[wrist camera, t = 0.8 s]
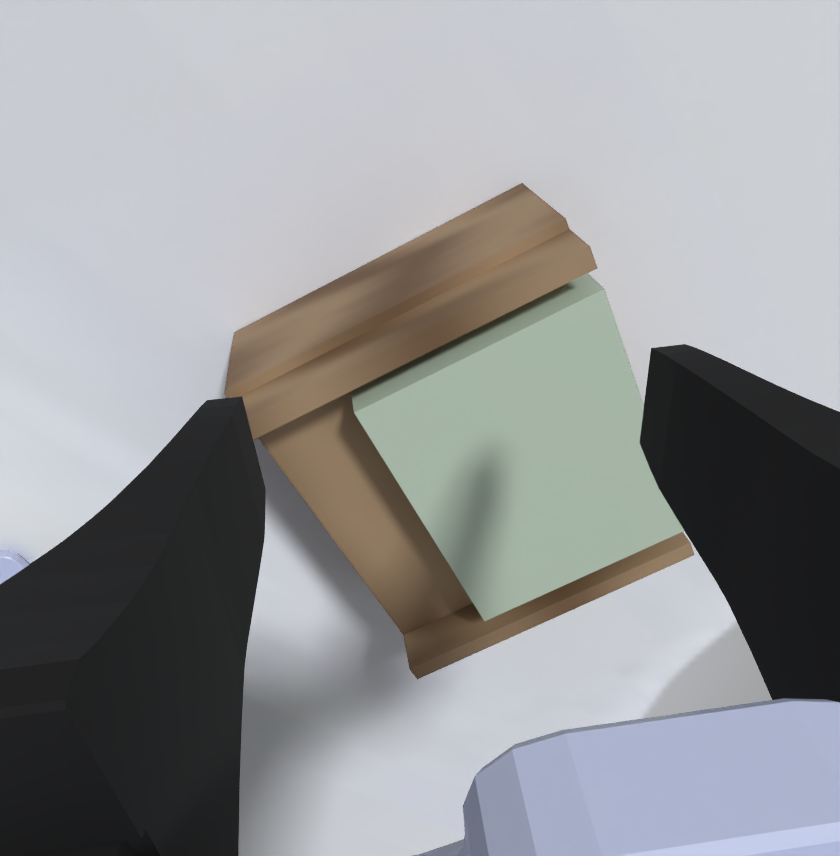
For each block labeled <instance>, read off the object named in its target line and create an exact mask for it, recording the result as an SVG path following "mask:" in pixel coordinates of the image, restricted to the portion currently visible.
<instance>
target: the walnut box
mask: <svg viewBox="0 0 840 856" xmlns="http://www.w3.org/2000/svg"><path fill="white" fill-rule="evenodd" d="M595 269H597V266H596V263H595V260H594V257H593V254H592V251H591V248H590V246H589V245H588V244H586V243H585V242H584V241H583V240H582V239H580V238H579V237H578V236H577V235H576V234H575V233H573V232H572V231H571V230H570V229H569V227H568V224H567V221H566V219H565V218H564V217H563V216H562V215H561V214H559V213H558V212H557V211H556V210H554V209H553V208H552V207H551V206H550V205H548V204H547V203H546V202H545V201H543V200H542V199H541V198H540V197H539V196H537V195H536V194H535V193H534V192H532V191H531V190H530V189H529V188H528V187H526V186H525V185H524V184H523V183H522V184H520V185H518V186H516V187H514V188H512V189H510V190H508V191H506V192H504V193H502V194H500V195H498V196H497V197H495V198H493V199H491V200H489V201H487V202H485V203H483V204H481V205H479V206H477V207H475V208H473V209H471V210H470V211H468V212H466V213H464V214H462V215H460V216H458V217H456V218H454V219H452V220H450V221H448V222H446V223H444V224H443V225H441V226H439V227H437V228H435V229H433V230H431V231H429V232H427V233H425V234H423V235H421V236H419V237H417V238H416V239H414V240H412V241H410V242H408V243H406V244H404V245H402V246H400V247H398V248H396V249H394V250H392V251H390V252H389V253H387V254H385V255H383V256H381V257H379V258H377V259H375V260H373V261H371V262H369V263H367V264H365V265H363V266H362V267H360V268H358V269H356V270H354V271H352V272H350V273H348V274H346V275H344V276H342V277H340V278H338V279H336V280H335V281H333V282H331V283H329V284H327V285H325V286H323V287H321V288H319V289H317V290H315V291H313V292H311V293H309V294H308V295H306V296H304V297H302V298H300V299H298V300H296V301H294V302H292V303H290V304H288V305H286V306H284V307H282V308H281V309H279V310H277V311H275V312H273V313H271V314H269V315H267V316H265V317H263V318H261V319H259V320H257V321H255V322H254V323H252V324H250V325H248V326H246V327H244V328H242V329H240V330H238V331H236V332H234V337H233V343H232V350H231V356H230V362H229V368H228V375H227V381H226V387H225V393H226V395H227V396H228V398H232V397H241V396H242V398H243V402H244V406H245V410H246V414H247V418H248V422H249V426H250V430H251V434H252V438H253V440H254V439H256V438H259V440H260V441H261V442H262V444H263V445H264V446H265V448H266V449H267V450H268V452H269V453H270V454H271V456H272V457H273V459H274V460H275V461H276V463H277V464H278V465H279V467H280V468H281V469H282V471H283V472H284V473H285V475H286V476H287V478H288V479H289V480H290V482H291V483H292V484H293V486H294V487H295V488H296V490H297V491H298V492H299V494H300V495H301V497H302V498H303V499H304V501H305V502H306V503H307V505H308V506H309V507H310V509H311V510H312V511H313V513H314V514H315V515H316V517H317V518H318V520H319V521H320V522H321V524H322V525H323V526H324V528H325V529H326V530H327V532H328V533H329V534H330V536H331V537H332V539H333V540H334V541H335V543H336V544H337V545H338V547H339V548H340V549H341V551H342V552H343V553H344V555H345V556H346V558H347V559H348V560H349V562H350V563H351V564H352V566H353V567H354V568H355V570H356V571H357V572H358V574H359V575H360V577H361V578H362V579H363V581H364V582H365V583H366V585H367V586H368V587H369V589H370V590H371V591H372V593H373V594H374V595H375V597H376V598H377V600H378V601H379V602H380V604H381V605H382V606H383V608H384V609H385V610H386V612H387V613H388V614H389V616H390V617H391V619H392V620H393V621H394V623H395V624H396V625H397V627H398V628H399V629H400V631H401V632H402V633H403V635H404V640H405V646H406V651H407V657H408V662H409V668H410V670H411V671H412V673H413V674H414V675H415V677H416V678H417V679H419V678H421V677H423V676H425V675H428V674H430V673H432V672H434V671H437V670H439V669H441V668H443V667H445V666H448V665H450V664H452V663H454V662H457V661H459V660H461V659H463V658H466V657H468V656H470V655H472V654H474V653H477V652H479V651H481V650H483V649H486V648H488V647H490V646H492V645H495V644H497V643H499V642H501V641H503V640H506V639H508V638H510V637H512V636H515V635H517V634H519V633H521V632H524V631H526V630H528V629H530V628H532V627H535V626H537V625H539V624H541V623H544V622H546V621H548V620H550V619H553V618H555V617H557V616H559V615H561V614H564V613H566V612H568V611H570V610H573V609H575V608H577V607H579V606H582V605H584V604H586V603H588V602H590V601H593V600H595V599H597V598H599V597H602V596H604V595H606V594H608V593H611V592H613V591H615V590H617V589H619V588H622V587H624V586H626V585H628V584H631V583H633V582H635V581H637V580H639V579H642V578H644V577H646V576H648V575H651V574H653V573H655V572H657V571H660V570H662V569H664V568H666V567H668V566H671V565H673V564H675V563H677V562H680V561H682V560H684V559H686V558H689V557H691V556H693V555H694V552H693V549H692V546H691V543H690V542H689V540H688V539H687V538H686V536H685V535H684V533H683V532H681V533H679V534H677V535H674V536H672V537H670V538H668V539H665V540H663V541H661V542H659V543H657V544H654V545H652V546H650V547H648V548H646V549H643V550H641V551H639V552H637V553H635V554H632V555H630V556H628V557H626V558H624V559H621V560H619V561H617V562H615V563H612V564H610V565H608V566H606V567H604V568H601V569H599V570H597V571H595V572H593V573H590V574H588V575H586V576H584V577H582V578H579V579H577V580H575V581H573V582H571V583H568V584H566V585H564V586H562V587H559V588H557V589H555V590H553V591H551V592H548V593H546V594H544V595H542V596H540V597H537V598H535V599H533V600H531V601H529V602H526V603H524V604H522V605H520V606H518V607H515V608H513V609H511V610H509V611H506V612H504V613H502V614H500V615H498V616H495V617H493V618H491V619H489V620H487V621H484V620H483V618H482V617H481V615H480V613H479V612H478V610H477V609H476V607H475V605H474V604H473V602H472V601H471V599H470V597H469V596H468V594H467V593H466V591H465V589H464V588H463V586H462V585H461V583H460V581H459V580H458V578H457V577H456V575H455V573H454V572H453V570H452V569H451V567H450V565H449V564H448V562H447V561H446V559H445V557H444V556H443V554H442V553H441V551H440V549H439V548H438V546H437V545H436V543H435V541H434V540H433V538H432V537H431V535H430V533H429V532H428V530H427V529H426V527H425V525H424V524H423V522H422V521H421V519H420V517H419V516H418V514H417V513H416V511H415V509H414V508H413V506H412V505H411V503H410V501H409V500H408V498H407V497H406V495H405V493H404V492H403V490H402V489H401V487H400V485H399V484H398V482H397V481H396V479H395V477H394V476H393V474H392V473H391V471H390V469H389V468H388V466H387V465H386V463H385V462H384V460H383V458H382V457H381V455H380V454H379V452H378V450H377V449H376V447H375V446H374V444H373V442H372V441H371V439H370V438H369V436H368V434H367V433H366V431H365V430H364V428H363V426H362V425H361V423H360V422H359V420H358V418H357V417H356V415H355V414H354V409H353V402H352V396H351V391H352V390H354V389H356V388H358V387H360V386H362V385H364V384H366V383H368V382H370V381H372V380H374V379H376V378H378V377H380V376H382V375H384V374H386V373H388V372H390V371H392V370H394V369H396V368H398V367H400V366H402V365H404V364H406V363H408V362H410V361H412V360H414V359H416V358H418V357H420V356H422V355H424V354H426V353H428V352H430V351H432V350H434V349H436V348H438V347H440V346H442V345H444V344H446V343H448V342H450V341H452V340H454V339H456V338H458V337H460V336H462V335H464V334H466V333H468V332H470V331H472V330H475V329H477V328H479V327H481V326H483V325H485V324H487V323H489V322H491V321H493V320H495V319H497V318H499V317H501V316H503V315H505V314H507V313H509V312H511V311H513V310H515V309H517V308H519V307H521V306H523V305H525V304H527V303H529V302H531V301H533V300H535V299H537V298H539V297H541V296H543V295H545V294H547V293H549V292H551V291H553V290H555V289H557V288H559V287H561V286H563V285H565V284H567V283H569V282H571V281H573V280H575V279H577V278H579V277H581V276H583V275H585V274H587V273H589V272H591V271H593V270H595Z"/></svg>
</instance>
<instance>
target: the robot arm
mask: <svg viewBox="0 0 840 856" xmlns="http://www.w3.org/2000/svg"><path fill="white" fill-rule="evenodd" d="M639 443H640V445H641V448H642V450H643V453H644V455H645V458H646V460H647V463H648V465H649V468H650V470H651V472H652V474H653V477H654V479H655V481H656V483H657V486H658V488H659V489H660V491H661V493H662V495H663V496H664V498H665V500H666V501H667V503H668V505H669V506H670V508H671V509H672V511H673V513H674V514H675V516H676V518H677V519H678V521H679V523H680V524H681V526H682V527H683V529H684V531H685V532H686V534H687V535H688V537H689V539H690V540H691V542H692V543H693V545H694V547H695V548H696V550H697V551H698V553H699V555H700V556H701V558H702V559H703V561H704V563H705V564H706V566H707V567H708V569H709V571H710V572H711V574H712V575H713V577H714V579H715V580H716V582H717V584H718V585H719V587H720V589H721V591H722V593H723V594H724V596H725V598H726V600H727V602H728V603H729V605H730V607H731V610H732V612H733V614H734V616H735V618H736V620H737V622H738V624H739V626H740V629H741V631H742V633H743V635H744V637H745V639H746V641H747V643H748V645H749V648H750V650H751V652H752V654H753V656H754V659H755V661H756V663H757V665H758V668H759V670H760V672H761V675H762V677H763V679H764V682H765V684H766V686H767V688H768V691H769V693H770V695H771V698H772V700H770V701H763V702H756V703H749V704H742V705H735V706H729V707H721V708H714V709H707V710H700V711H694V712H686V713H679V714H672V715H665V716H659V717H651V718H644V719H637V720H630V721H623V722H616V723H609V724H602V725H595V726H588V727H581V728H575V729H568V730H561V731H558V732H555V733H551V734H548V735H544V736H541V737H538V738H534V739H531V740H528V741H524V742H521V743H518V744H515V745H513V746H512V747H511V748H509V749H508V750H507V751H505V752H504V753H502V754H501V755H500V756H498V757H497V758H495V759H494V760H493V761H491V762H490V763H489V764H487V765H486V766H484V767H483V768H482V769H481V770H480V771H479V772H478V773H477V775H476V776H475V777H474V780H473V782H472V785H471V787H470V790H469V792H468V795H467V797H466V800H465V802H464V804H463V813H464V827H465V837H464V839H463V840H460V841H457V842H454V843H452V844H449V845H446V846H443V847H440V848H437V849H434V850H431V851H428V852H425V853H422V854H419V855H414V856H840V412H838V411H836V410H833V409H831V408H828V407H826V406H823V405H821V404H818V403H816V402H814V401H811V400H809V399H806V398H804V397H802V396H800V395H797V394H795V393H793V392H790V391H788V390H786V389H784V388H782V387H779V386H777V385H775V384H773V383H771V382H769V381H766V380H764V379H762V378H760V377H758V376H756V375H754V374H752V373H749V372H747V371H745V370H743V369H741V368H739V367H737V366H735V365H733V364H731V363H728V362H726V361H724V360H722V359H720V358H718V357H715V356H713V355H711V354H709V353H707V352H704V351H702V350H699V349H697V348H694V347H691V346H689V345H685V344H684V345H675V346H667V347H658V348H651V355H650V363H649V371H648V379H647V387H646V395H645V403H644V411H643V418H642V426H641V434H640V442H639ZM264 534H265V486H264V482H263V478H262V474H261V470H260V466H259V462H258V458H257V454H256V450H255V446H254V442H253V438H252V434H251V430H250V426H249V422H248V418H247V414H246V410H245V406H244V402H243V398H242V396H241V397H232V398H224V399H215V400H207V401H206V402H205V403H204V404H203V405H202V406H201V407H200V408H199V409H198V410H197V411H196V413H195V414H194V415H193V416H192V417H191V418H190V419H189V421H188V422H187V423H186V424H185V425H184V426H183V427H182V429H181V430H180V431H179V432H178V433H177V434H176V435H175V437H174V438H173V439H172V440H171V441H170V442H169V443H168V444H167V445H166V446H165V448H164V449H163V450H162V451H161V452H160V453H159V454H158V455H157V456H156V457H155V459H154V460H153V461H152V462H151V463H150V464H149V465H148V466H147V467H146V468H145V469H144V470H143V471H142V472H141V473H140V474H139V475H138V476H137V477H136V478H135V479H134V480H133V481H132V482H131V483H130V484H129V485H128V486H127V487H126V488H125V489H124V490H123V491H121V492H120V493H119V494H118V495H117V496H116V497H115V498H114V499H113V500H112V501H111V502H110V503H109V504H108V505H107V506H106V507H104V508H103V509H102V510H101V511H100V512H99V513H97V514H96V515H95V516H94V517H93V518H92V519H90V520H89V521H88V522H87V523H85V524H84V525H83V526H82V527H80V528H79V529H78V530H77V531H75V532H74V533H73V534H72V535H70V536H69V537H68V538H67V539H65V540H64V541H63V542H61V543H60V544H59V545H57V546H56V547H54V548H53V549H51V550H50V551H48V552H47V553H46V554H44V555H43V556H41V557H40V558H38V559H37V560H35V561H34V562H32V563H31V564H30V565H29V564H28V563H27V562H26V561H25V560H24V559H23V558H22V557H21V556H19V555H18V554H16V553H15V552H12V551H9V550H2V551H0V856H238V835H239V779H240V751H241V722H242V703H243V683H244V667H245V658H246V650H247V642H248V636H249V630H250V624H251V618H252V612H253V606H254V600H255V594H256V588H257V582H258V576H259V569H260V563H261V557H262V550H263V543H264Z"/></svg>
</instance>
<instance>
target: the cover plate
mask: <svg viewBox="0 0 840 856" xmlns="http://www.w3.org/2000/svg"><path fill="white" fill-rule="evenodd" d="M351 396H352V402H353V409H354V414H355V415H356V417H357V418H358V420H359V422H360V423H361V425H362V426H363V428H364V430H365V431H366V433H367V434H368V436H369V438H370V439H371V441H372V442H373V444H374V446H375V447H376V449H377V450H378V452H379V454H380V455H381V457H382V458H383V460H384V462H385V463H386V465H387V466H388V468H389V469H390V471H391V473H392V474H393V476H394V477H395V479H396V481H397V482H398V484H399V485H400V487H401V489H402V490H403V492H404V493H405V495H406V497H407V498H408V500H409V501H410V503H411V505H412V506H413V508H414V509H415V511H416V513H417V514H418V516H419V517H420V519H421V521H422V522H423V524H424V525H425V527H426V529H427V530H428V532H429V533H430V535H431V537H432V538H433V540H434V541H435V543H436V545H437V546H438V548H439V549H440V551H441V553H442V554H443V556H444V557H445V559H446V561H447V562H448V564H449V565H450V567H451V569H452V570H453V572H454V573H455V575H456V577H457V578H458V580H459V581H460V583H461V585H462V586H463V588H464V589H465V591H466V593H467V594H468V596H469V597H470V599H471V601H472V602H473V604H474V605H475V607H476V609H477V610H478V612H479V613H480V615H481V617H482V618H483V620H484V621H487V620H489V619H491V618H493V617H495V616H498V615H500V614H502V613H504V612H506V611H509V610H511V609H513V608H515V607H518V606H520V605H522V604H524V603H526V602H529V601H531V600H533V599H535V598H537V597H540V596H542V595H544V594H546V593H548V592H551V591H553V590H555V589H557V588H559V587H562V586H564V585H566V584H568V583H571V582H573V581H575V580H577V579H579V578H582V577H584V576H586V575H588V574H590V573H593V572H595V571H597V570H599V569H601V568H604V567H606V566H608V565H610V564H612V563H615V562H617V561H619V560H621V559H624V558H626V557H628V556H630V555H632V554H635V553H637V552H639V551H641V550H643V549H646V548H648V547H650V546H652V545H654V544H657V543H659V542H661V541H663V540H665V539H668V538H670V537H672V536H674V535H677V534H679V533H681V532H683V531H684V529H683V527H682V526H681V524H680V523H679V521H678V519H677V518H676V516H675V514H674V513H673V511H672V509H671V508H670V506H669V505H668V503H667V501H666V500H665V498H664V496H663V495H662V493H661V491H660V489H659V488H658V486H657V483H656V481H655V479H654V477H653V474H652V472H651V470H650V468H649V465H648V463H647V460H646V458H645V455H644V453H643V450H642V448H641V445H640V443H639V442H640V434H641V426H642V418H643V411H644V404H643V402H642V399H641V396H640V393H639V390H638V387H637V384H636V381H635V378H634V375H633V372H632V369H631V366H630V363H629V360H628V357H627V354H626V351H625V348H624V345H623V342H622V339H621V337H620V334H619V331H618V328H617V325H616V322H615V319H614V316H613V313H612V310H611V307H610V304H609V301H608V298H607V295H606V292H605V289H604V288H603V287H602V286H601V285H600V284H599V283H598V282H597V281H595V280H594V279H593V278H592V277H591V276H590V275H589V274H588V273H587V274H585V275H583V276H581V277H579V278H577V279H575V280H573V281H571V282H569V283H567V284H565V285H563V286H561V287H559V288H557V289H555V290H553V291H551V292H549V293H547V294H545V295H543V296H541V297H539V298H537V299H535V300H533V301H531V302H529V303H527V304H525V305H523V306H521V307H519V308H517V309H515V310H513V311H511V312H509V313H507V314H505V315H503V316H501V317H499V318H497V319H495V320H493V321H491V322H489V323H487V324H485V325H483V326H481V327H479V328H477V329H475V330H472V331H470V332H468V333H466V334H464V335H462V336H460V337H458V338H456V339H454V340H452V341H450V342H448V343H446V344H444V345H442V346H440V347H438V348H436V349H434V350H432V351H430V352H428V353H426V354H424V355H422V356H420V357H418V358H416V359H414V360H412V361H410V362H408V363H406V364H404V365H402V366H400V367H398V368H396V369H394V370H392V371H390V372H388V373H386V374H384V375H382V376H380V377H378V378H376V379H374V380H372V381H370V382H368V383H366V384H364V385H362V386H360V387H358V388H356V389H354V390H352V391H351Z"/></svg>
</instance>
